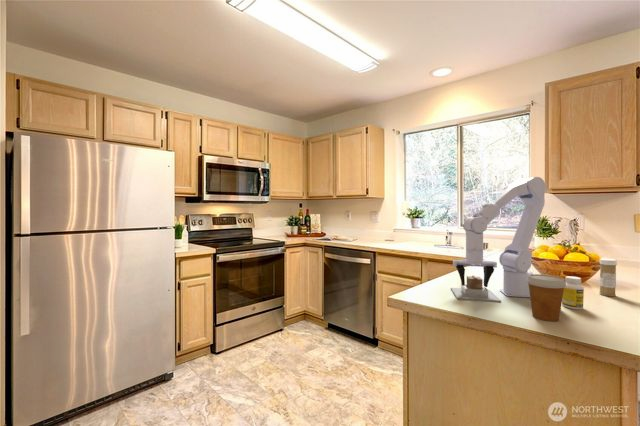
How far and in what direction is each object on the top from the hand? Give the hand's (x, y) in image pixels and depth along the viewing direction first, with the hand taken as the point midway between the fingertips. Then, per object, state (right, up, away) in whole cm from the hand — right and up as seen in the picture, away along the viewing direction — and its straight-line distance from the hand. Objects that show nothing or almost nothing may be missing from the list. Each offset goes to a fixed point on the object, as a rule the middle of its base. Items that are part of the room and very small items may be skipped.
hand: (474, 285), depth 114 cm
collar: (0, -4, 0) cm, 3 cm away
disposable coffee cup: (+10, -4, -23) cm, 25 cm away
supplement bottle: (+25, -4, -14) cm, 29 cm away
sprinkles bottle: (+49, -4, 0) cm, 50 cm away
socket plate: (0, -4, 0) cm, 3 cm away
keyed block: (0, -3, 0) cm, 3 cm away
